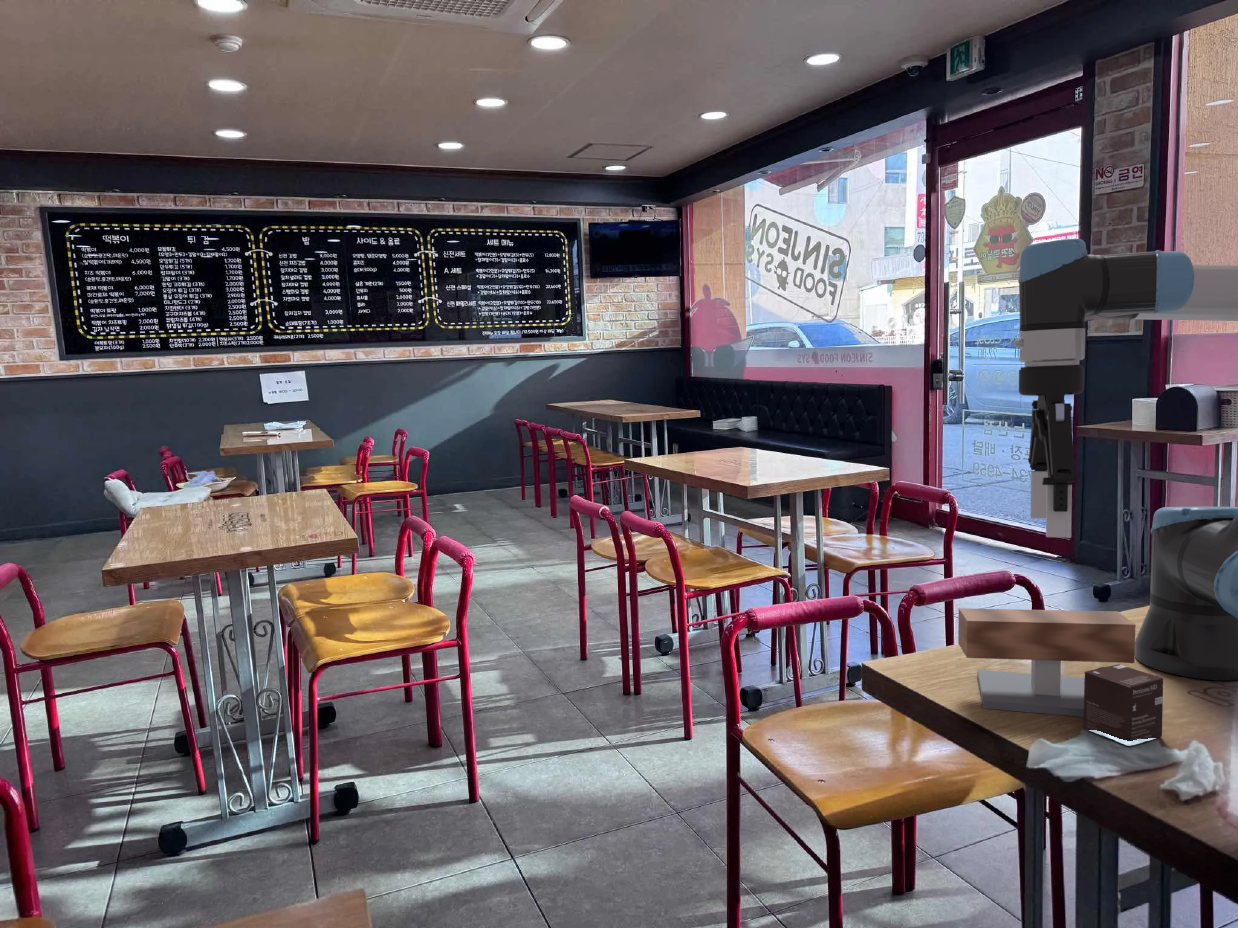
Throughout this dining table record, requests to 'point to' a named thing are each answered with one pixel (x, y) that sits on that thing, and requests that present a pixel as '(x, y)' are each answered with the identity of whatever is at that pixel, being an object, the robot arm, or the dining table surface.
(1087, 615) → the cherry bar
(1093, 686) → the box
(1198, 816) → the dining table surface
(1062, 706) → the fulcrum
